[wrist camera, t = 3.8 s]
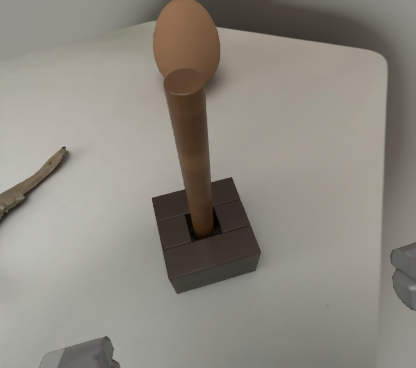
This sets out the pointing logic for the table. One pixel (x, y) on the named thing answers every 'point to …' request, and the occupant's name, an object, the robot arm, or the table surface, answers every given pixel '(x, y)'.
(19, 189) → the jawbone
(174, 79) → the stick
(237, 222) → the stand
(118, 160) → the table surface
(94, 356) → the robot arm
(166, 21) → the egg
